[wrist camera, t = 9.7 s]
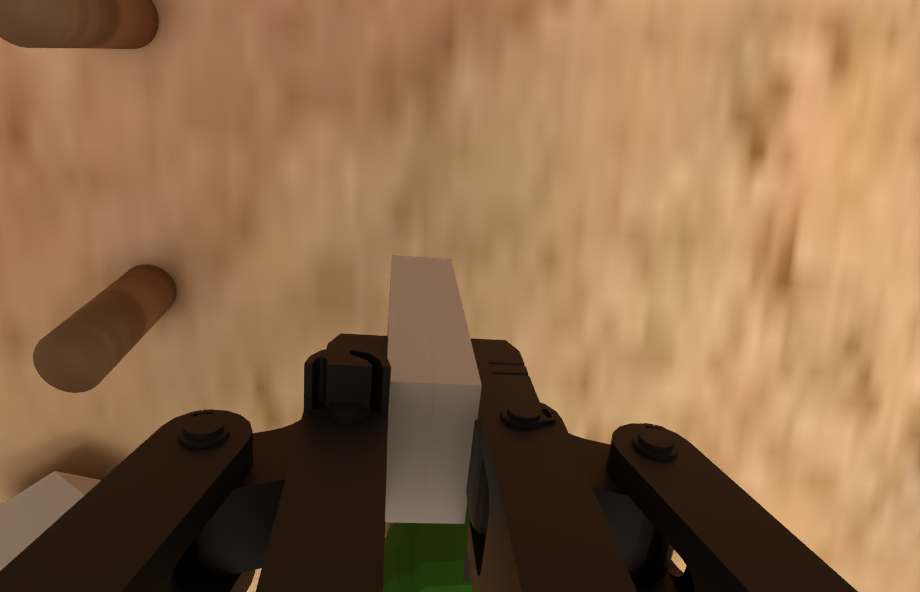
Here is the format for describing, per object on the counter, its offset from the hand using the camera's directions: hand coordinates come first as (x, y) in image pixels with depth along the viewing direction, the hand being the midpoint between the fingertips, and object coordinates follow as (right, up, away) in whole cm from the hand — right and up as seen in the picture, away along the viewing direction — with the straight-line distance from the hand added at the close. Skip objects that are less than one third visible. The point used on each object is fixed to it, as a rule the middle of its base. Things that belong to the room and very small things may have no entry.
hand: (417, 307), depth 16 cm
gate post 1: (-13, +12, +11) cm, 21 cm away
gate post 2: (-15, +1, +15) cm, 21 cm away
